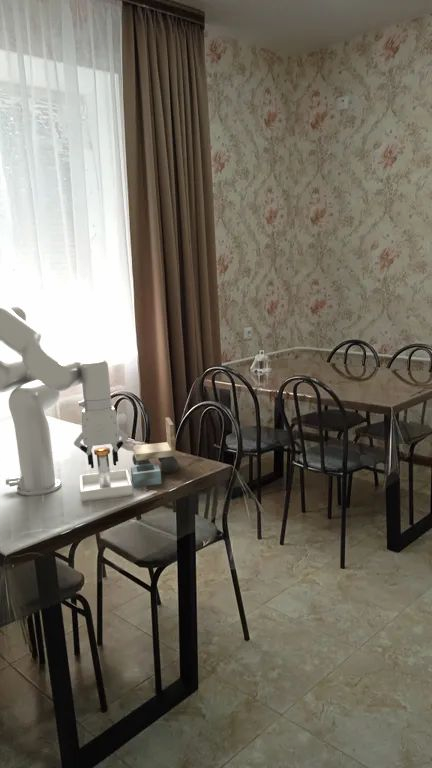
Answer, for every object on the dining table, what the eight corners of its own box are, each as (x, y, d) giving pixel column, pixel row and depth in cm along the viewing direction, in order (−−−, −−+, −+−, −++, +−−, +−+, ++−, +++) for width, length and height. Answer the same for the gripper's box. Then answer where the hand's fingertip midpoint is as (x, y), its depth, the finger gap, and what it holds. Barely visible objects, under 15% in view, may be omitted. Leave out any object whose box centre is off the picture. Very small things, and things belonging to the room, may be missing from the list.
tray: (81, 501, 174) (80, 491, 173) (80, 484, 187) (79, 475, 186) (132, 495, 176) (131, 484, 176) (128, 478, 190) (127, 469, 189)
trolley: (134, 487, 182) (129, 437, 179) (128, 467, 201) (124, 421, 198) (183, 480, 185) (180, 431, 182) (173, 461, 204) (170, 416, 201)
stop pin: (98, 491, 179) (94, 452, 177) (97, 486, 183) (93, 448, 181) (113, 489, 180) (110, 450, 178) (112, 484, 184) (109, 446, 182)
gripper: (66, 410, 171) (73, 473, 175) (129, 403, 175) (135, 465, 178) (66, 404, 178) (72, 465, 182) (127, 398, 182) (132, 458, 186)
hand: (103, 464), depth 180 cm, fingers open, 5 cm apart
